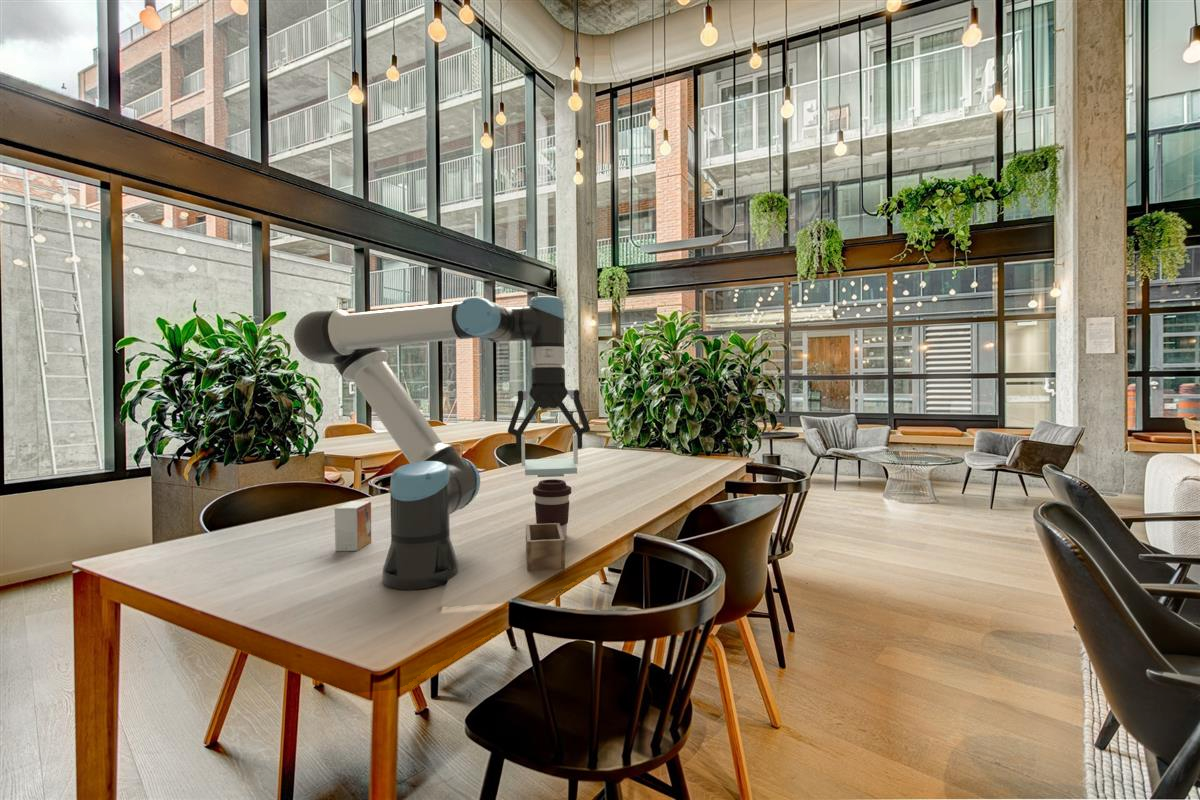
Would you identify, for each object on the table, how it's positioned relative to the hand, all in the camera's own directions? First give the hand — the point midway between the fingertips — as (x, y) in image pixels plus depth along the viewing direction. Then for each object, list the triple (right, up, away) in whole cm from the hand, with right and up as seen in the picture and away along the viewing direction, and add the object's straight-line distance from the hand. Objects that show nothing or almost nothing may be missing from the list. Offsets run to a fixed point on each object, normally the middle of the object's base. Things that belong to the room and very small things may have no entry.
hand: (549, 464), depth 122 cm
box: (-1, -22, +1) cm, 22 cm away
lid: (0, -1, 0) cm, 1 cm away
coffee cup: (-1, -22, +19) cm, 29 cm away
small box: (-50, -22, +12) cm, 56 cm away
